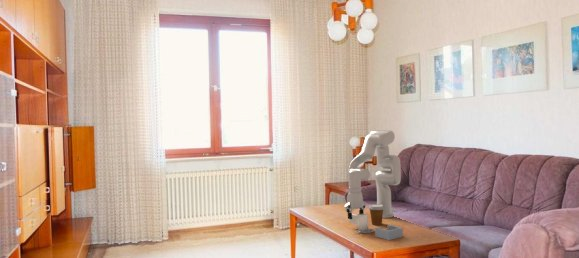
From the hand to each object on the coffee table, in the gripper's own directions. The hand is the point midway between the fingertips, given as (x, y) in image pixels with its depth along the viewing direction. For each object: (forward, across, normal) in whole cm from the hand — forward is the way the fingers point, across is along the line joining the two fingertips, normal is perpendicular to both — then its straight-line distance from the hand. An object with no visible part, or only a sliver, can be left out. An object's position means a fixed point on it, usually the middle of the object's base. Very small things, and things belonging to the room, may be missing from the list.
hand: (355, 217), depth 269 cm
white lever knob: (+6, 0, +3) cm, 7 cm away
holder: (+7, -2, +24) cm, 26 cm away
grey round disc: (+7, 0, +8) cm, 11 cm away
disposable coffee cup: (+7, -18, 0) cm, 19 cm away
